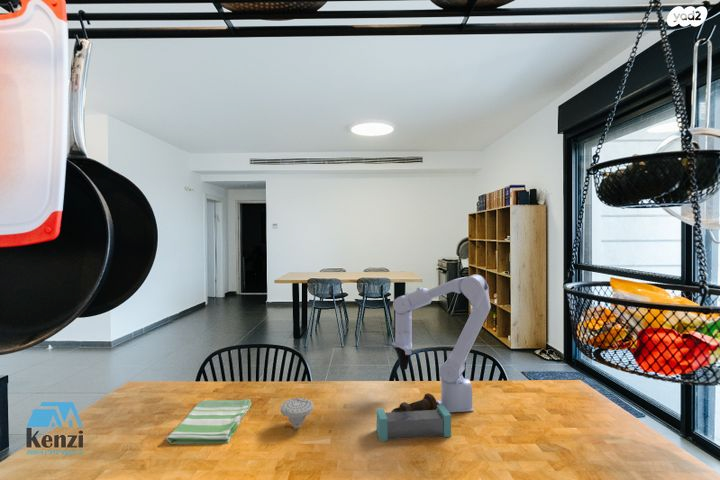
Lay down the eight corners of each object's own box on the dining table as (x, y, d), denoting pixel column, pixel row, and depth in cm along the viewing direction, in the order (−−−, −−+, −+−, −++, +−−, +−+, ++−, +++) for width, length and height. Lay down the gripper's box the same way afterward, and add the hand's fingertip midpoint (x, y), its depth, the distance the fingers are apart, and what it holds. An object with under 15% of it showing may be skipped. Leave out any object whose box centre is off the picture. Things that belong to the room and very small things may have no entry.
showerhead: (272, 406, 102) (293, 392, 111) (272, 431, 102) (293, 416, 111) (300, 413, 98) (319, 398, 107) (300, 439, 98) (319, 422, 107)
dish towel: (252, 405, 119) (252, 396, 119) (230, 445, 96) (230, 435, 96) (198, 406, 118) (198, 397, 118) (162, 447, 95) (162, 436, 95)
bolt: (392, 426, 109) (430, 412, 116) (400, 424, 105) (439, 411, 112) (386, 405, 111) (424, 394, 118) (394, 403, 107) (433, 391, 114)
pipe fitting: (443, 425, 105) (443, 405, 105) (451, 436, 99) (451, 415, 99) (376, 429, 103) (376, 408, 103) (380, 441, 97) (380, 419, 97)
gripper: (388, 325, 132) (388, 362, 132) (396, 336, 117) (396, 377, 117) (406, 325, 133) (406, 361, 133) (417, 335, 118) (417, 376, 118)
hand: (403, 368), depth 125 cm, fingers closed
